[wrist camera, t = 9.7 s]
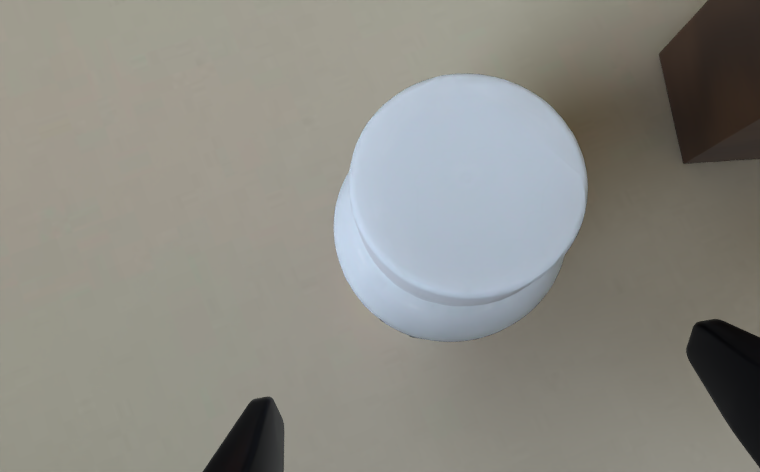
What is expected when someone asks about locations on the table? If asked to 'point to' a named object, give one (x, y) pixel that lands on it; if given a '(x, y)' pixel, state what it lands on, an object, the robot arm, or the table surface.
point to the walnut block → (716, 82)
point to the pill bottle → (459, 207)
